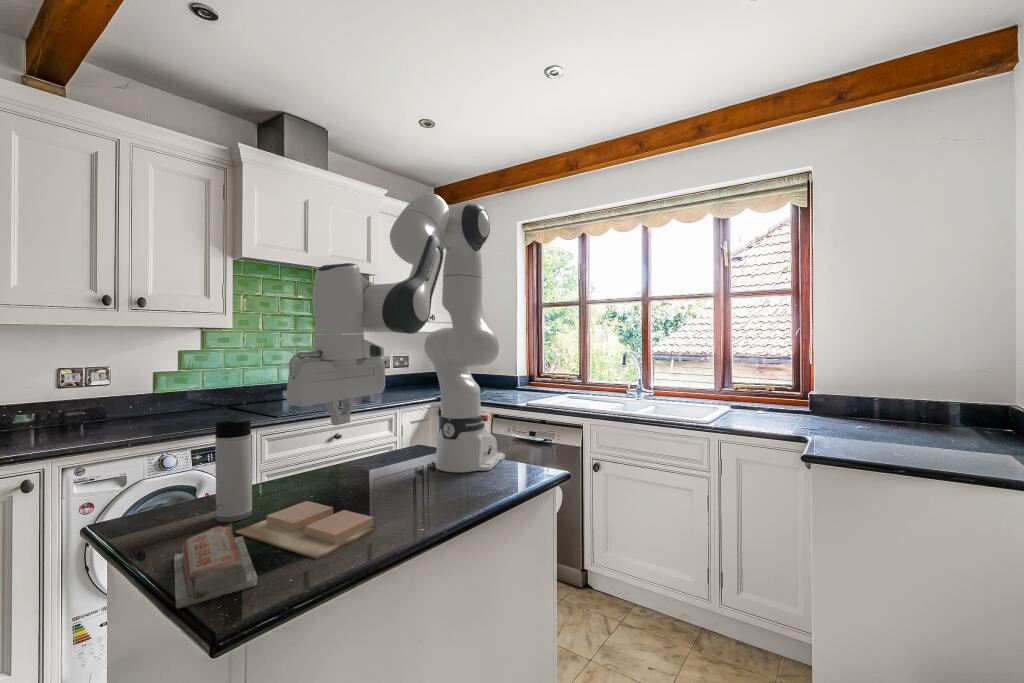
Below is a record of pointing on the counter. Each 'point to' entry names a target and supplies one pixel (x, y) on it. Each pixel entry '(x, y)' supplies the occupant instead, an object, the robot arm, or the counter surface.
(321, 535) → the pink and green block
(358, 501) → the counter surface
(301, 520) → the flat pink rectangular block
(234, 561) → the packaged product
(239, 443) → the travel mug
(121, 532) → the counter surface
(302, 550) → the cork mat
